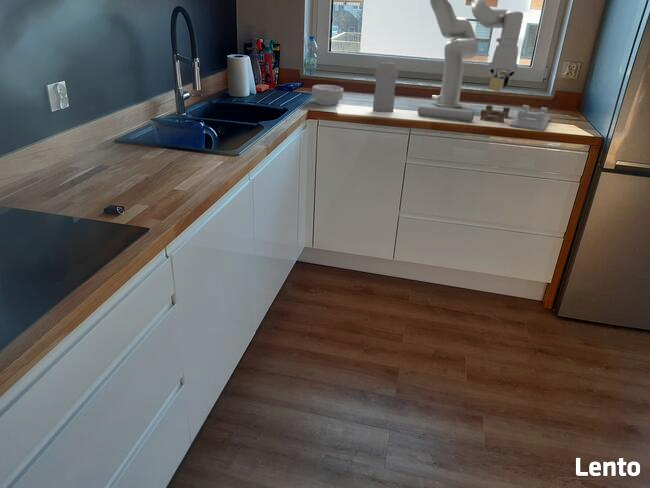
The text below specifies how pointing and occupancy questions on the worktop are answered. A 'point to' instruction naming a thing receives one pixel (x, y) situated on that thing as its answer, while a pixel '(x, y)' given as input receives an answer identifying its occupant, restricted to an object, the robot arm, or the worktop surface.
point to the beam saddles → (494, 114)
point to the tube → (446, 113)
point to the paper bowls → (327, 94)
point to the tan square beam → (498, 81)
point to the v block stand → (531, 119)
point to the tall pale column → (385, 87)
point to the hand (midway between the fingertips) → (499, 85)
